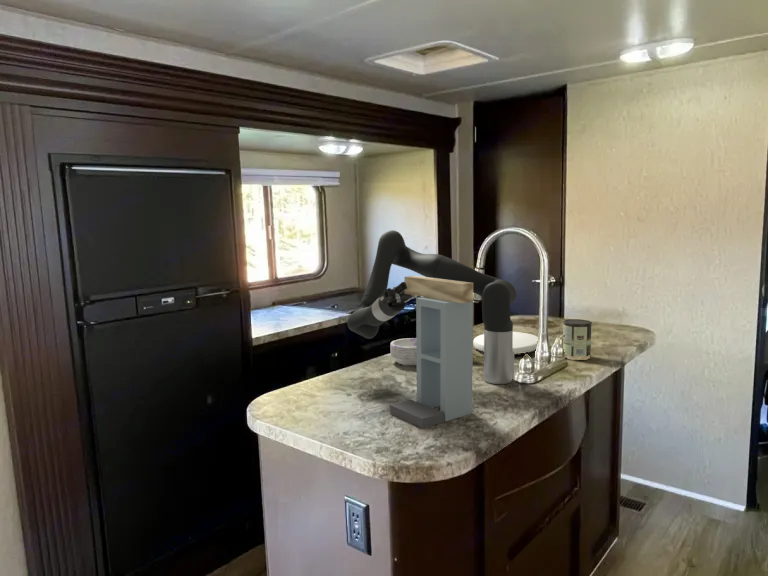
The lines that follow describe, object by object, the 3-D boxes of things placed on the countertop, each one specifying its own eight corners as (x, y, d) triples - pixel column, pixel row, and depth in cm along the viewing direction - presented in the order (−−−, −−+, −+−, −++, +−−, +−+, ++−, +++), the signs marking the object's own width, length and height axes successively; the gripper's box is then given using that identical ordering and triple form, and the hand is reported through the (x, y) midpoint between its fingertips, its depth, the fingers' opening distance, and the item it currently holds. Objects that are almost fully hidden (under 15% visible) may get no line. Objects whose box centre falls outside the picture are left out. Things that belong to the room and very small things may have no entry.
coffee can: (577, 353, 221) (578, 318, 220) (596, 359, 212) (597, 322, 210) (556, 356, 218) (557, 320, 216) (574, 362, 208) (575, 324, 206)
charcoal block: (410, 407, 161) (410, 399, 160) (444, 421, 150) (444, 412, 149) (390, 413, 156) (389, 404, 156) (422, 428, 145) (422, 418, 145)
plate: (521, 349, 210) (460, 340, 227) (521, 365, 211) (461, 355, 228) (551, 329, 231) (493, 322, 248) (552, 344, 232) (494, 336, 249)
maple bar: (415, 292, 167) (415, 275, 166) (473, 301, 147) (473, 282, 147) (404, 293, 164) (404, 276, 164) (462, 303, 145) (462, 284, 144)
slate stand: (442, 402, 165) (443, 294, 161) (472, 413, 156) (473, 299, 152) (416, 409, 159) (416, 298, 155) (445, 421, 150) (445, 303, 146)
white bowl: (382, 364, 209) (382, 343, 208) (405, 355, 221) (404, 336, 220) (417, 370, 200) (416, 348, 199) (438, 361, 212) (438, 340, 211)
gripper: (365, 296, 172) (393, 273, 159) (402, 292, 180) (431, 270, 168) (373, 319, 170) (401, 297, 157) (410, 314, 178) (439, 293, 166)
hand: (416, 283), depth 163 cm, fingers open, 8 cm apart
